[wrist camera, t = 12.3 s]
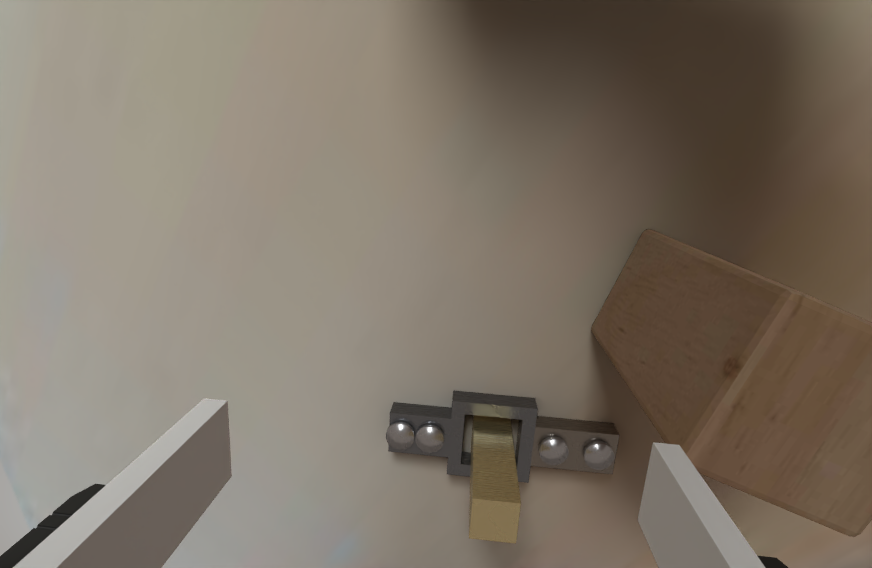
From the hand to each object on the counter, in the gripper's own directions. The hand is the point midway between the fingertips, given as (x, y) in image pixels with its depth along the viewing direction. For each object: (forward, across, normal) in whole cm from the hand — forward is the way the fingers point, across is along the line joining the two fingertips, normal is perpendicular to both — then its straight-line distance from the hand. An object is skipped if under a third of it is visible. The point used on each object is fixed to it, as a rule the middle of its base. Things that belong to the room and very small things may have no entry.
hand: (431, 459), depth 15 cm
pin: (+29, +4, -16) cm, 33 cm away
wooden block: (+29, +18, -2) cm, 34 cm away
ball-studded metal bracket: (+29, +4, -16) cm, 33 cm away
